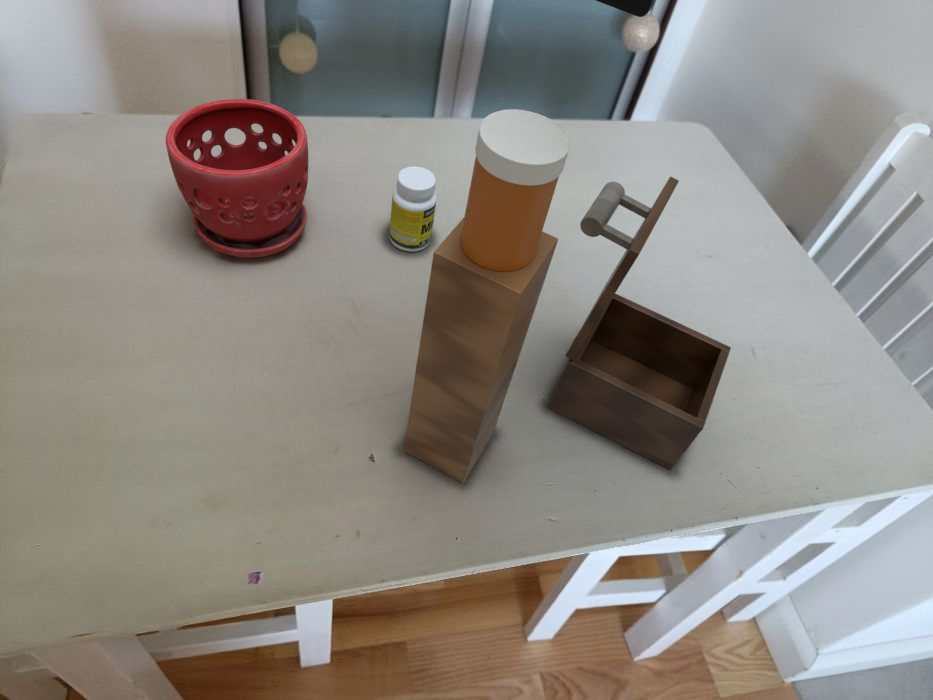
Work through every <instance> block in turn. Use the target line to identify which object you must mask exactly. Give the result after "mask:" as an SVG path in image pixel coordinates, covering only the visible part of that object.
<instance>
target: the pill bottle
mask: <svg viewBox="0 0 933 700" xmlns="http://www.w3.org/2000/svg"><path fill="white" fill-rule="evenodd" d="M570 148H571V143H570V137H569V135H568V134H567V132H566V131H565V130H564V128H563V127H562V126H560V124H558V123H557V122H555V121H554V120H553V119H551V118H549V117H547V116H545V115H543V114H540V113H538V112H534V111H529V110H525V109H516V108H515V109H510V108H509V109H501V110H498V111H494V112H492V113H490V114H488V115H486V116H485V117H484V118H483V119H482V121H481V122H480V124H479V128H478V133H477V139H476V145H475V149H474V150H475V159H474V164H473V170H472V176H471V179H470V186H469V189H468V196H467V202H466V207H465V213H464V217H463V218H464V222H463V227H462V232H461V238H460V242H461V246H462V249H463V251H464V253H465V254H466V255H467V256H468V257H469V258H470V259H471V260H472V261H473V262H475V263H476V264H478V265H480V266H482V267H484V268H487V269H490V270H494V271H500V272H509V271H515V270H519V269H521V268H524V267H525V266H527V265H528V264H529V263H530V262H531V261H532V260H533V258H534V256H535V253H536V249H537V246H538V243H539V240H540V236H541V233H542V231H544V230H543V229H544V226H545V224H546V220H547V217H548V213H549V210H550V206H551V205H552V204H551V203H552V200H553V197H554V194H555V191H556V188H557V184H558V181H559V178H560V175H561V174H562V173H563V172H564V171H563V170H564V169H565V164H566V161H567V158H568V155H569V152H570Z"/></svg>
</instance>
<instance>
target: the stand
mask: <svg viewBox="0 0 933 700" xmlns="http://www.w3.org/2000/svg"><path fill="white" fill-rule="evenodd" d="M463 222H464V217H462V219H461V220H460V221H459V222H458V223H457V225H456V226H455V227H454V228H453V229H452V230H451V231H450V233H449V234H448V235H447V236H446V237H445V238H444V239H443V241H442V242H441V243H440V244H439V245H438V246H437V247H436V249H435V250H434V251H433V254H432V259H431V260H432V261H431V266H430V267H431V268H430V275H429V280H428V287H427V293H426V294H427V295H426V302H425V308H424V314H423V320H422V327H421V334H420V340H419V348H418V354H417V360H416V366H415V372H414V379H413V386H412V391H411V398H410V399H411V400H410V404H409V405H410V406H409V413H408V417H407V418H408V419H407V426H406V432H405V438H404V439H405V440H404V445H403V452H405V453H406V454H409V455H410V456H412V457H414V458H416V459H417V460H419V461H421V462H423V463H425V464H426V465H428V466H430V467H432V468H433V469H436V470H437V471H438V472H441V473H443V474H444V475H446V476H448V477H450V478H452V479H453V480H456V481H457V482H459V483H461V484H464V482H465V481H466V480H467V478H468V476H469V475H470V473H471V471H472V469H473V468H474V466H475V465H476V463H477V461H478V459H479V458H480V456H481V455H482V453H483V451H484V450H485V448H486V446H487V445H488V443H489V441H490V440H491V438H492V436H493V435H494V432H495V429H496V426H497V424H498V421H499V417H500V414H501V412H502V409H503V405H504V402H505V399H506V397H507V393H508V390H509V387H510V384H511V382H512V379H513V375H514V372H515V369H516V366H517V364H518V361H519V358H520V354H521V352H522V349H523V346H524V343H525V340H526V338H527V334H528V332H529V329H530V326H531V323H532V319H533V316H534V314H535V310H536V307H537V304H538V302H539V298H540V297H541V293H542V290H543V286H544V283H545V281H546V278H547V275H548V271H549V269H550V265H551V262H552V260H553V257H554V254H555V251H556V247H557V245H558V242H559V238H557V237H556V236H553V235H551V234H549V233H547V232H544V230H542V233H541V236H540V240H539V243H538V246H537V249H536V253H535V256H534V258H533V260H532V261H531V262H530V263H529V264H528V265H527V266H525V267H524V268H521V269H519V270H515V271H509V272H500V271H494V270H490V269H487V268H484V267H482V266H480V265H478V264H476V263H475V262H473V261H472V260H471V259H470V258H469V257H468V256H467V255H466V254H465V253H464V251H463V249H462V246H461V242H460V238H461V232H462V227H463Z"/></svg>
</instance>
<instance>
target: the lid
mask: <svg viewBox="0 0 933 700" xmlns="http://www.w3.org/2000/svg"><path fill="white" fill-rule="evenodd" d="M679 182H680V180H679V179H677V178H675V177H673V176H669V178H668V180H667V181H666V183H665V184H664V186H663V187H662V190H661V191H660V193H659V194H658V196H657V198H656V200H655V201H654V203H653V204H652V206H651V207H650V206H648V205H646V204H644V203H642V202H640V201H638V200H636V199H634V198H633V197H631V196H628V195H627V194H626V191H625V190H626V189H625V188H624V186H623V185H622V184H621V183H619V182H617V181H609V182H607V183H606V184H605V185H604V186H603V188H602V189H601V191H600V192H599V194H598V195H597V196H596V197H595V199H594V201H593V202H592V204H591V205H590V207H589V209H588V210H587V211H586V213H585V215H584V216H583V218H582V219H581V221H580V225H579V226H580V230H581V232H582V233H583V234H584V235H586V236H587V237H589V238H597V237H599V236H601V237H603V238H605V239H607V240H609V241H611V242H612V243H614V244H616V245H618V246H619V247H621V248H623V249H625V251H624V253H623V255H622V256H621V258H620V260H619V261H618V263H617V265H616V266H615V268H614V270H613V271H612V273H611V274H610V276H609V278H608V279H607V281H606V283H605V285H604V287H602V290H601V292H600V293H599V295H598V297H597V299H596V301H595V303H594V304H593V306H592V308H591V309H590V311H589V313H588V314H587V316H586V318H585V320H584V322H583V324H582V325H581V327H580V329H579V331H578V332H577V334H576V336H575V338H574V339H573V341H572V343H571V345H570V346H569V348H568V350H567V351H566V354H565V357H566V358H568V359H569V358H570V359H572V360H574V358H575V357H576V355H577V353H578V352H579V350H580V349H581V347H582V345H583V344H584V342H585V341H586V339H587V337H588V336H589V334H590V333H591V331H592V329H593V328H594V326H595V325H596V323H597V321H598V320H599V318H600V317H601V315H602V313H603V312H604V310H605V309H606V307H607V305H608V304H609V302H610V300H611V299H612V297H613V296H614V294H615V293H617V292H618V289H619V287H620V286H621V285H622V283H623V281H624V280H625V279H626V276H627V275H628V273H629V272H630V270H631V268H632V267H633V265H635V262H636V260H637V259H638V257H639V256H640V254H641V252H642V250H643V248H644V247H645V245H646V243H647V241H648V239H649V238H650V236H651V234H652V232H653V230H654V228H655V226H656V225H657V223H658V221H659V219H660V217H661V215H662V214H663V212H664V210H665V208H666V206H667V205H668V202H669V200H670V199H671V197H672V196H673V193H674V191H675V190H676V187H677V186H678V184H679ZM619 206H621V207H623V208H625V209H627V210H628V211H630V212H632V213H633V214H636V215H638V216H640V217H642V218H643V221H642V223H641V224H640V226H639V228H638V230H637V231H636V232H635V235H634V236H633V237H631V236H629V235H628V234H626V233H624V232H623V231H620V230H618V229H616V228H615V227H613V226H611V225H610V224H609V222H610V220H611V219H612V217H613V215H614V213H615V212H616V211H617V209H618V208H619Z"/></svg>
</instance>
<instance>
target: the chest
mask: <svg viewBox="0 0 933 700" xmlns="http://www.w3.org/2000/svg"><path fill="white" fill-rule="evenodd" d="M731 349H732V347H731V346H729V345H727V344H725V343H723V342H721V341H718V340H717V339H714V338H712V337H710V336H709V335H705V334H703V333H701V332H700V331H697V330H695V329H692V328H690V327H688V326H686V325H684V324H682V323H680V322H678V321H676V320H673V319H672V318H669V317H667V316H665V315H662V314H661V313H658V312H656V311H654V310H652V309H650V308H648V307H645V306H643V305H642V304H639V303H638V302H635V301H633V300H631V299H628V298H626V297H624V296H623V295H619V294H617V292H615V294H614V296H613V297H612V299H611V300H610V302H609V304H608V305H607V307H606V309H605V310H604V312H603V313H602V315H601V317H600V318H599V320H598V321H597V323H596V325H595V326H594V328H593V329H592V331H591V333H590V334H589V336H588V337H587V339H586V341H585V342H584V344H583V345H582V347H581V349H580V350H579V352H578V353H577V355H576V357H575V358H574V360H572V359H570V358H568V360H567V362H566V365H565V366H564V369H563V371H562V374H561V375H560V378H559V381H558V383H557V386H556V388H555V390H554V392H553V395H552V398H551V399H550V402H549V404H548V406H547V408H548V409H550V410H552V411H553V412H556V413H557V414H560V415H561V416H563V417H566V418H567V419H569V420H571V421H574V422H575V423H578V424H579V425H581V426H583V427H585V428H587V429H589V430H591V431H593V432H595V433H597V434H599V435H601V436H603V437H604V438H606V439H609V440H611V441H613V442H614V443H616V444H619V445H620V446H622V447H624V448H625V449H628V450H630V451H632V452H634V453H635V454H637V455H640V456H642V457H644V458H646V459H648V460H649V461H651V462H653V463H656V464H658V465H659V466H661V467H663V468H666V469H667V470H669V471H671V470H672V469H673V468H674V467H675V466H676V464H677V463H678V462H679V460H680V459H681V458H682V457H683V455H684V454H685V453H686V451H687V450H688V449H689V447H690V446H691V445H692V444H693V443H694V441H695V440H696V438H697V437H698V436H699V434H700V433H701V432H702V430H703V429H704V427H705V424H706V422H707V419H708V415H709V413H710V410H711V408H712V405H713V401H714V399H715V396H716V393H717V391H718V387H719V384H720V381H721V379H722V376H723V372H724V370H725V367H726V364H727V362H728V358H729V355H730V352H731Z"/></svg>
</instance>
